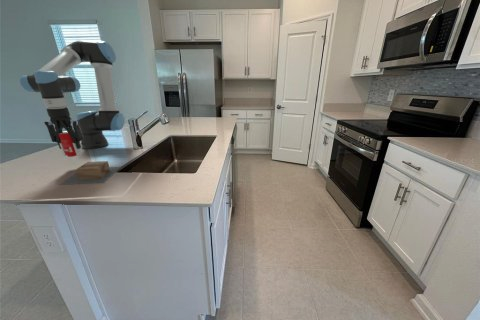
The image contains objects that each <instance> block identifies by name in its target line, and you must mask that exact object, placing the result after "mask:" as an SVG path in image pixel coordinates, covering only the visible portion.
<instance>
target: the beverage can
mask: <svg viewBox="0 0 480 320" xmlns="http://www.w3.org/2000/svg"><path fill="white" fill-rule="evenodd" d="M59 137H60V140H61V142H62V145H63V148H64V151H65V154H66V156H67V157H69V158H71V157H77V156H78V155H76V152H75V149H74V146H73V142H74V141H73V139H72V138H71V136H70V135H69V133H68V132H67V130H62V132H60V133H59Z"/></svg>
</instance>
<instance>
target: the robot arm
mask: <svg viewBox="0 0 480 320" xmlns="http://www.w3.org/2000/svg"><path fill="white" fill-rule="evenodd" d="M116 58H117V57H116V53H115V51H114V48H113V47H112V46H111V45H110V43H109V42H107V41H104V40H84V39H83V40H81V39H80V40H75V41H73V42H71V43H68V44H67V45H66V46H64V47H63V48H61V50H60V53H59V54H58V55H56V56H55V57H54V58H53V59H51V60H50V61H48V62H47V63H46V64H45V65H44V66H42V67H41V68H40V69H38V70H35V71H34V72H33V74H31V75H30V74H26V75H25V74H24V75H22V76H21V77H19V84H20V86H21V88H22V89H24V90H25V91H26V92H31V93H40V95H41V98H42V99H41V100H42V101H43V104H44V107H45V108H46V112H47V115H48V117H49V118H50V119H49V120H46V121H44V122H43V123H44V124H45V126H46V128H47V131H48V134H49V137H50V139H51V140H50V141H51V142H52V143H57V145H58V148H59V149H60V150H61V151H62V155H63V156H64V157H66V156H67V155H66V154H65V151H64V148H63V145H62V142H61V140H60V137H59V133H60V132H63V129H64V131H67V132H68V133H69V135H70V136H71V138H72V139H73V141H74V142H73V146H74V149H75V152H76V155H77V156H80V155H82V150H81V149H84V150H85V149H88V150H91V149H97V148H100V149H101V148H103V147H106V146H108V145H109V142H108V140H107V137H106V136H105V134H103V133H104V132H105V131H106V132H109V131H110V132H115V131H121V130H122V129H123V128H124V126H125V117H124V115H123V114H122V113H121V112H120V110H119V109H118V108H117V104H116V103H117V102H116V99H115V91H114V90H115V89H114V84H113V83H114V82H113V77H112V71H111V69H112V68H113V67H114V66H113V64H114V63H115V62H116V61H117V59H116ZM81 63H90V65H91V66H92V68H93V70H94V77H95V82H96V87H97V88H96V89H97V93H98V99H99V105H100V108H99V109H98V110H89V111H84V112H83V111H81V112H79V113H77V114H76V120H74V119H72V118H71V115H70V111H69V108H68V107H67V106H68V104H67V102H66V99H65V98H66V97H65V95H64V94H65V93H66V94H67V93H74V92H78V91H79V90H80V89H81V83H80V81H79V79H78V78H77V77H76V76H73V75H72V76H71V75H66V73H68V72H69V71H71V69H72V68H73V67H74V66H78V65H80V64H81Z"/></svg>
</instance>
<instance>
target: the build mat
mask: <svg viewBox="0 0 480 320" xmlns="http://www.w3.org/2000/svg"><path fill="white" fill-rule="evenodd" d="M109 168H110V171H109V172H108V173H107V174H106V175H104V176H103V177H102V178H101V179H82V180H79V178H78V175H77V172H76V173H74V174H72V175H71V176H70V177H68V178H66V179H65V180H63V181H62V182H60V183H59V184H58V186H69V185H70V186H71V185H90V184H92V185H93V184H94V185H95V184H105V182H107V181H108V180H109V179H111V177H112V176H113V175H114V174H116V173H117V172H118V171H119V170H120V169H121V168H122V166H109Z"/></svg>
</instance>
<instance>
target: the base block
mask: <svg viewBox="0 0 480 320" xmlns="http://www.w3.org/2000/svg"><path fill="white" fill-rule="evenodd" d="M109 167H110V165H109V161H108V160H107V161H104V160H103V161H99V160H98V161H87V162H85V163H84V164H82V165H81V166H79V167H77V168H76V169H75V171H76V173H77V175H78V178H79V180H82V179H101V178H102V177H103V176H104V175H106V174H107V173H108V172H109V171H110V168H109Z"/></svg>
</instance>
